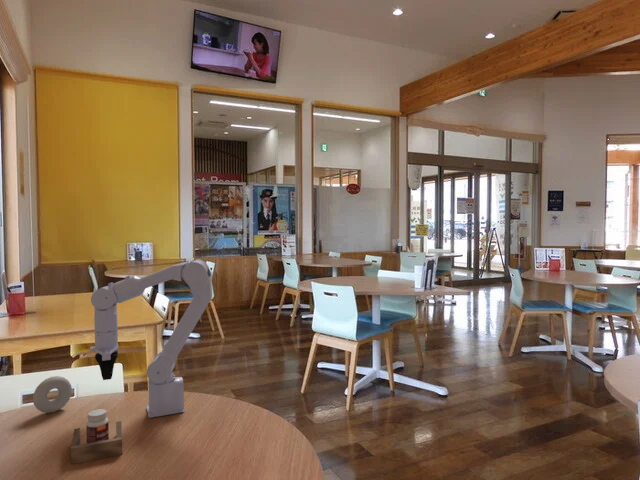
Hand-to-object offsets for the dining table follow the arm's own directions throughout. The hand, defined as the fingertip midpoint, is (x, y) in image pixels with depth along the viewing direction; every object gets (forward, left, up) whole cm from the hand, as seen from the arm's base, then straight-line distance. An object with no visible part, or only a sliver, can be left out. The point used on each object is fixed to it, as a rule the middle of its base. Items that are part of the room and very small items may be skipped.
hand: (107, 378), depth 126 cm
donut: (+14, -8, -10) cm, 19 cm away
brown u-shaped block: (+2, +20, -10) cm, 22 cm away
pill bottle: (+2, +19, -10) cm, 22 cm away
